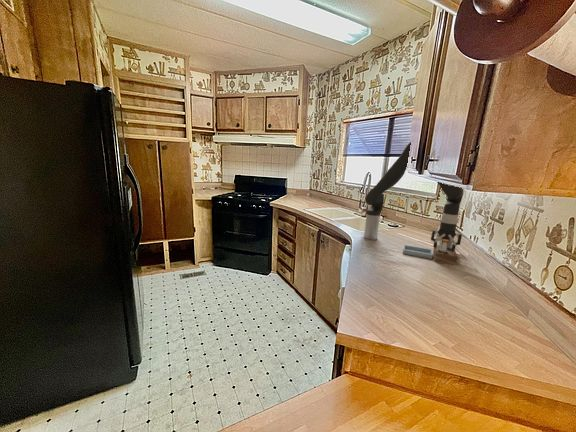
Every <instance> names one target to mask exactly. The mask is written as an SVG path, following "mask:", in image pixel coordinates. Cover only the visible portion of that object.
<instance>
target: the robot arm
mask: <svg viewBox="0 0 576 432" xmlns="http://www.w3.org/2000/svg"><path fill="white" fill-rule="evenodd" d="M410 145H411V141H410V142H408V144H407V145H406V146H405V148H404V149H403V151H402V153H401V154H400V156H398V158H397V159H396V160H395V161H394V162H393V164H392V165H391V166H390V167H389V169H388V170H387V171H386V172H385V173H384V175H383V176H382V177H381V179H380V180H379V181H378V182H377V183H376V185H374V187H373V188H372V189H371V190H369V191H368V193H367V194H366V195H365V202H366V204H367V205H368V206H370V207H369V208H368V209H367V210H366V215H365V223H364V232H363V238H365V239H366V240H371V241H372V240H373V241H374V240H377V239H378V236H379V226H380V221H381V220H380V219H381V213H382V211H383V207H384V201H385V197H384V194H383V193H385V192H386V191H388V190H389V189H391V188H392V187H394V186H395V185H396V184H398V182H399V181H400V180H401V179H402V178H403V176H404V175H405V173H406V171H407V168H408V167H407V163H408V157H409V151H410ZM406 167H407V168H406ZM436 183H437V184H438V186H440V189H441V191H442V192H443V193H444V195H445V196H446V197H447V198H446V201H445V204H444V206H443V211H442V214H441V218H440V225H439V226H440V229H439V231H438V230H435V229H432V232H431V236H430V240H431V241H432V242H433V245H432V246H433V249H434V248H435V249H436V246H437V241H439V240H440V239H441V238H442V239H448V240H451V241H452V247H451V251H452V252H453V251H454V250H455V251H456V246H460V245H461V243H462V236H463V235H462V234H461V233H456V231H457V225H458V221H459V220H458V219H459V212H460V206H461V202H462V200H463V195H464V188H463V187H462V188H463V189H462V188H459V187H454V186H448V185H444V184H442V183H439V182H436ZM437 233H438V234H439V236H438V237H437V236H436V235H437ZM435 236H436V237H437V238H435ZM455 236H456V238H457V240H456V241H455V240H454V239H455ZM453 237H454V239H453Z"/></svg>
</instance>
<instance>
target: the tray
mask: <svg viewBox="0 0 576 432" xmlns="http://www.w3.org/2000/svg"><path fill="white" fill-rule="evenodd" d="M402 249H403V250H402V254H403V255H408V256H414V257H419V258H424V259H429V260H433V257H434V254H433V249H432V248H431V249H430V248H425V247H419V246H413V245H409V244H408V245H407V244H404V245H403V248H402Z"/></svg>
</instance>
